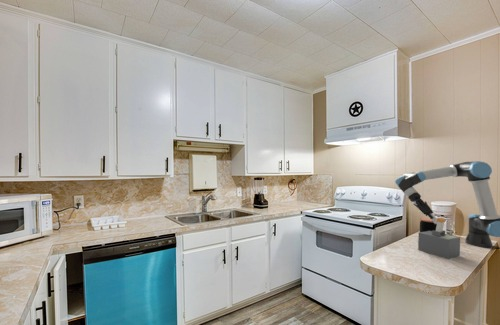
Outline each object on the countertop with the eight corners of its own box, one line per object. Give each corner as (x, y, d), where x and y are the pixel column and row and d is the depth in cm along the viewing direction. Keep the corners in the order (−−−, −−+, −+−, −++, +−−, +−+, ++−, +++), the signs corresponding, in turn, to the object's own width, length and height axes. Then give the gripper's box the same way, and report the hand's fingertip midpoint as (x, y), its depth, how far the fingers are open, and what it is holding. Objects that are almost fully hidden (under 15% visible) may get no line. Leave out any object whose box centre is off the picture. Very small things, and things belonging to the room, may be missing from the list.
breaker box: (429, 247, 175) (429, 226, 176) (459, 255, 159) (460, 233, 159) (418, 249, 169) (418, 228, 169) (448, 259, 153) (449, 235, 153)
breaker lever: (438, 232, 167) (441, 217, 165) (442, 234, 165) (445, 219, 163) (434, 233, 164) (437, 218, 163) (438, 235, 162) (441, 219, 161)
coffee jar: (440, 245, 180) (440, 221, 180) (425, 245, 180) (426, 221, 180) (429, 241, 190) (430, 218, 191) (416, 240, 191) (416, 217, 191)
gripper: (413, 197, 185) (437, 224, 170) (403, 198, 179) (427, 226, 164) (421, 191, 180) (446, 219, 165) (411, 191, 175) (436, 220, 160)
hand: (437, 222), depth 165 cm, fingers closed
